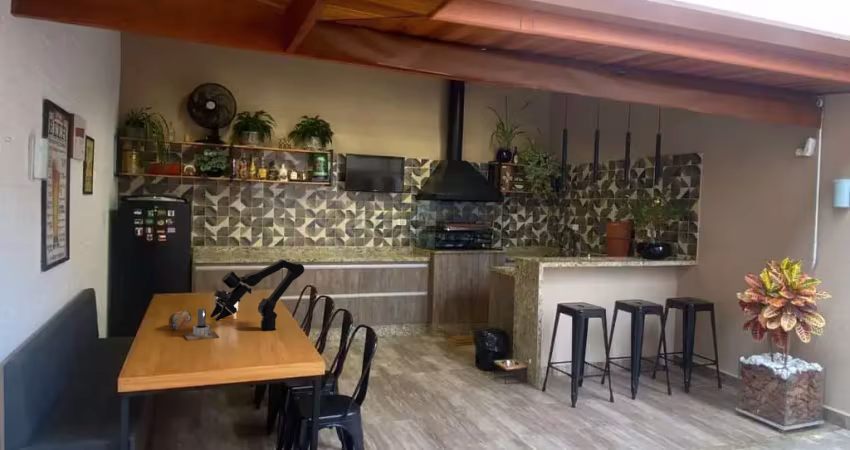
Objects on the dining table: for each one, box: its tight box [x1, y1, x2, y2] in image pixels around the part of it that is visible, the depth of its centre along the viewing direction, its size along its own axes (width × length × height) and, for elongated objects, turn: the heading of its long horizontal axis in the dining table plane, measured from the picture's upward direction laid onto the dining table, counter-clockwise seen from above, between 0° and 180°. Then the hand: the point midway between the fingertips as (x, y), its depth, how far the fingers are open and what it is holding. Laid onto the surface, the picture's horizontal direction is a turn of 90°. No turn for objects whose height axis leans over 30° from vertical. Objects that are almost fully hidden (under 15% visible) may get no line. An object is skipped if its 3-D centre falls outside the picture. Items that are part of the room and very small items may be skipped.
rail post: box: [197, 308, 207, 328], centre depth 267 cm, size 4×4×12 cm
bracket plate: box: [183, 330, 220, 341], centre depth 267 cm, size 14×12×1 cm
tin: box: [168, 310, 192, 331], centre depth 283 cm, size 15×3×8 cm, turn 168°
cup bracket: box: [192, 324, 211, 337], centre depth 267 cm, size 7×7×4 cm
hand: (213, 318), depth 270 cm, fingers open, 9 cm apart
